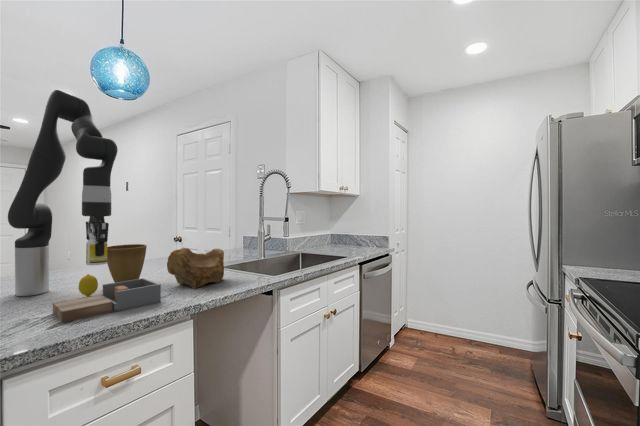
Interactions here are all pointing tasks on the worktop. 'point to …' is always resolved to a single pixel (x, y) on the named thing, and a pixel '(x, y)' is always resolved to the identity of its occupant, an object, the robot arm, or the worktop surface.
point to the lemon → (88, 285)
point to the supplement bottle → (90, 253)
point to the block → (119, 288)
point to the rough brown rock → (196, 267)
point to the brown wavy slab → (82, 308)
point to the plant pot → (126, 261)
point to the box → (133, 294)
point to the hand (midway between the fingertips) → (96, 254)
